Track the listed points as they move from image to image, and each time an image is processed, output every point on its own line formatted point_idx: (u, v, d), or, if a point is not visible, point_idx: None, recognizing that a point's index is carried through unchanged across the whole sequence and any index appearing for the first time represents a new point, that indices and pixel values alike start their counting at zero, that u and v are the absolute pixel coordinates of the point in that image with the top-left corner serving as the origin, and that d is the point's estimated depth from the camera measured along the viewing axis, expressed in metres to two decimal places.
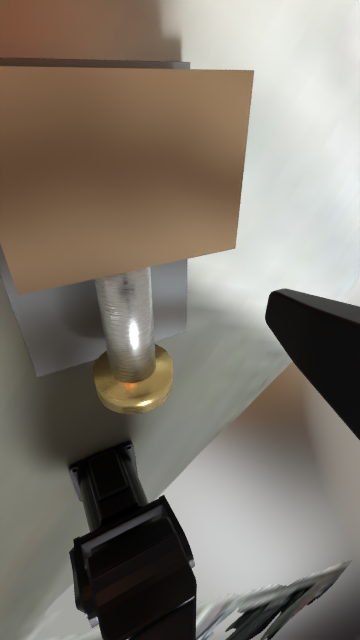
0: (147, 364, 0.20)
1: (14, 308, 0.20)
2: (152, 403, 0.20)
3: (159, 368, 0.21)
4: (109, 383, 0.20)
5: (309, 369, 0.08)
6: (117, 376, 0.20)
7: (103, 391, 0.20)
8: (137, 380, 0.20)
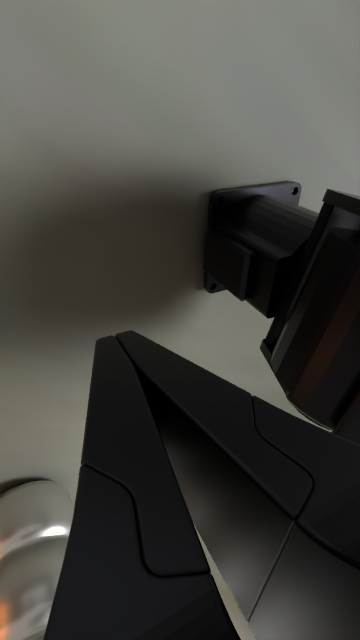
0: None
1: None
2: None
3: None
4: None
5: None
6: None
7: None
8: None
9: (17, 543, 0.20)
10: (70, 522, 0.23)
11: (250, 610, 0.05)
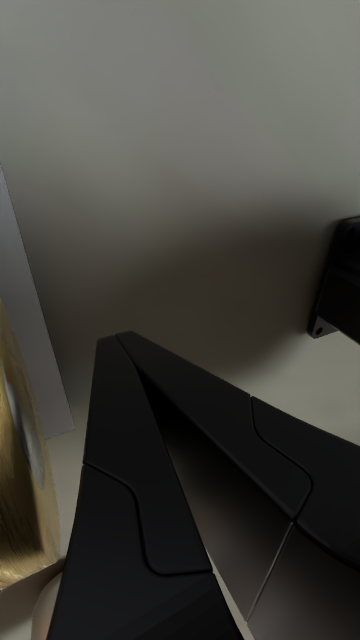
0: None
1: None
2: None
3: None
4: None
5: None
6: None
7: None
8: None
9: None
10: None
11: (249, 611, 0.05)
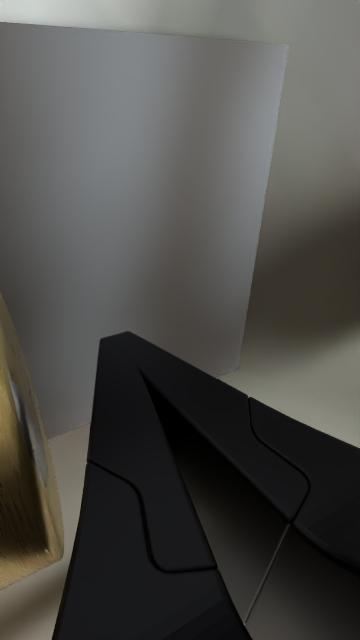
0: None
1: None
2: None
3: None
4: None
5: None
6: None
7: None
8: None
9: None
10: None
11: (247, 612, 0.05)
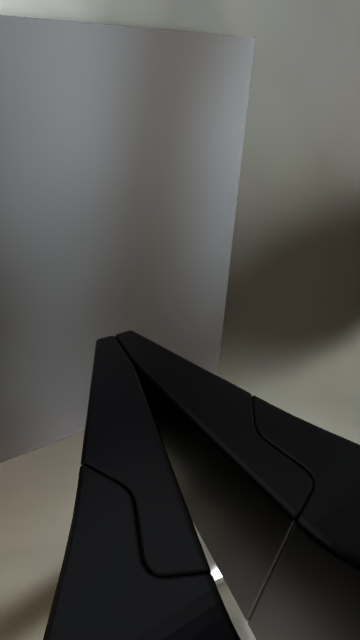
0: None
1: None
2: None
3: None
4: None
5: None
6: None
7: None
8: None
9: None
10: None
11: (250, 610, 0.05)
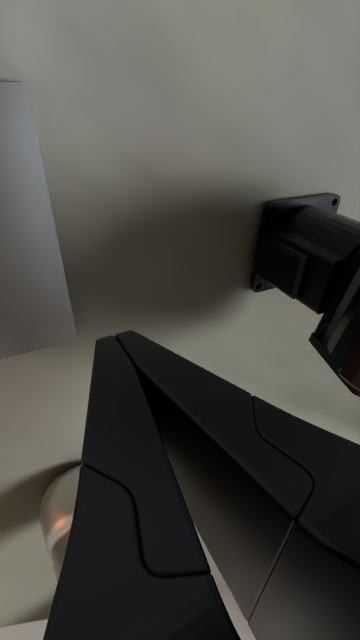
0: None
1: None
2: None
3: None
4: None
5: None
6: None
7: None
8: None
9: None
10: None
11: (250, 610, 0.05)
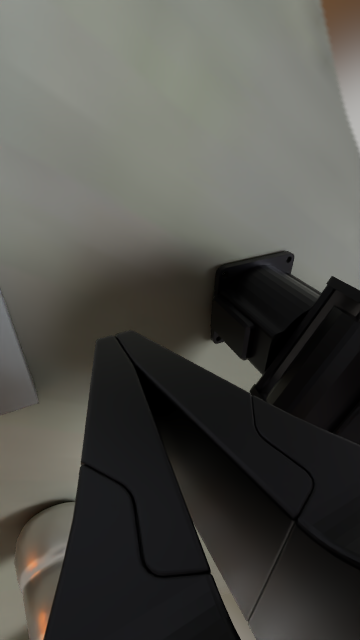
0: None
1: None
2: None
3: None
4: None
5: None
6: None
7: None
8: None
9: (53, 559, 0.24)
10: None
11: (250, 610, 0.05)
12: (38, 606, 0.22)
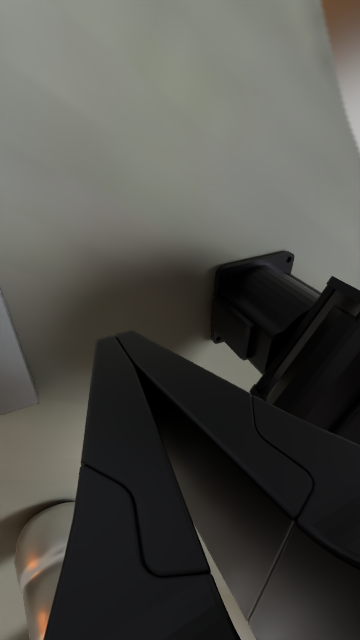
0: None
1: None
2: None
3: None
4: None
5: None
6: None
7: None
8: None
9: (53, 559, 0.24)
10: None
11: (250, 610, 0.05)
12: (38, 606, 0.22)
